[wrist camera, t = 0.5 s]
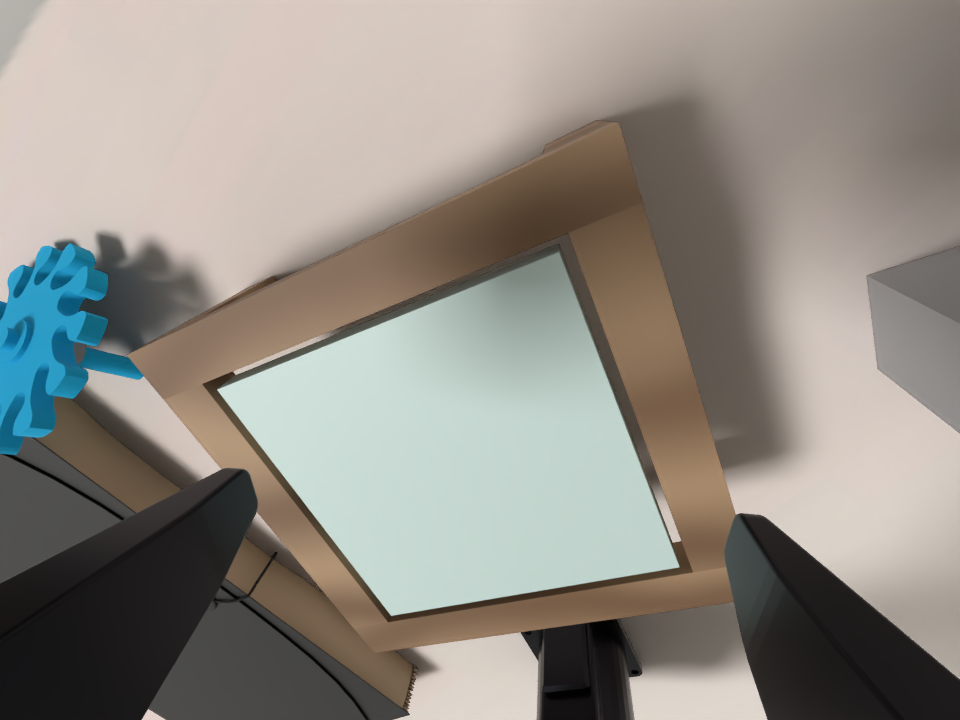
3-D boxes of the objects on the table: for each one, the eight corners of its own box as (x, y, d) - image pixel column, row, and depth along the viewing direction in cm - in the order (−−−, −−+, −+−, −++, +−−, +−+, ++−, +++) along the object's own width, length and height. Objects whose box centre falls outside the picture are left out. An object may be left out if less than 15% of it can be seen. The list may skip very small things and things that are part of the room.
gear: (95, 211, 20) (33, 443, 17) (217, 271, 25) (186, 457, 22) (-32, 266, 24) (-101, 460, 21) (95, 307, 30) (54, 468, 26)
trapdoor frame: (707, 474, 24) (760, 598, 18) (411, 540, 29) (374, 652, 23) (596, 120, 17) (619, 122, 11) (242, 290, 23) (126, 355, 17)
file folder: (409, 720, 33) (230, 773, 43) (424, 660, 36) (256, 722, 46) (-34, 396, 24) (-130, 559, 34) (44, 359, 27) (-64, 516, 37)
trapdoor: (397, 596, 22) (391, 615, 22) (233, 376, 18) (216, 389, 17) (673, 546, 18) (679, 567, 18) (558, 243, 14) (559, 252, 13)
